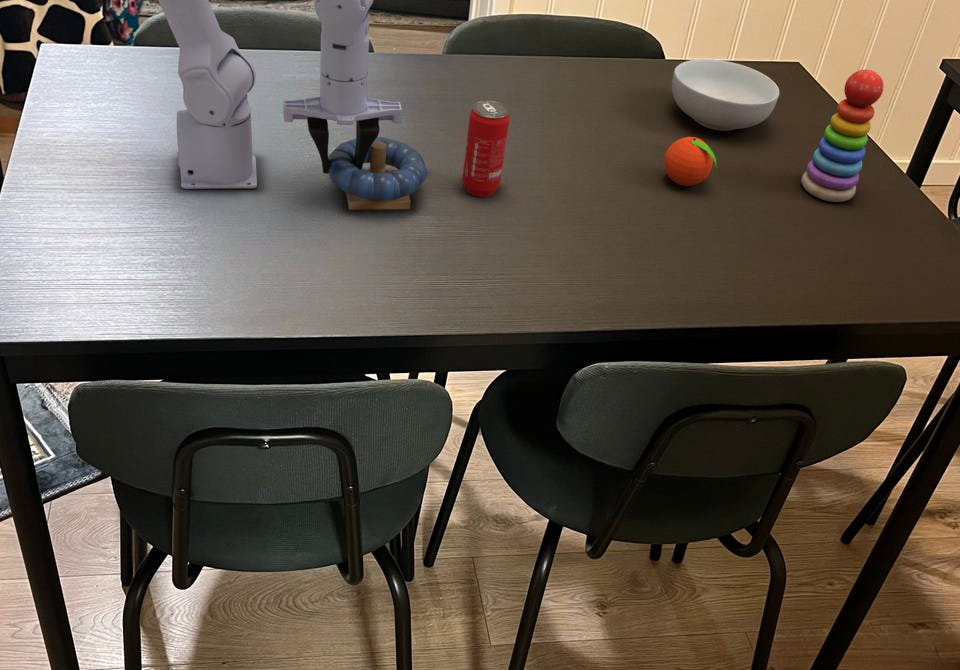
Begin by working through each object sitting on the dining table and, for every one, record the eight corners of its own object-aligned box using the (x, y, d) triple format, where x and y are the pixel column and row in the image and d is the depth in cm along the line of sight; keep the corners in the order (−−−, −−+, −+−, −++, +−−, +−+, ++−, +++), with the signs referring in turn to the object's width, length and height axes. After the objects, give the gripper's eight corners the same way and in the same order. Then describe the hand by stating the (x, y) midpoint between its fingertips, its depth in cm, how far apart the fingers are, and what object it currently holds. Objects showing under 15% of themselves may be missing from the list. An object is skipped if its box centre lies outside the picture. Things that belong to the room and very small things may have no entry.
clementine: (721, 188, 140) (734, 145, 135) (694, 203, 136) (708, 159, 131) (676, 165, 144) (688, 122, 139) (649, 179, 140) (661, 135, 135)
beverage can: (471, 201, 129) (482, 120, 122) (455, 181, 133) (464, 102, 125) (505, 195, 131) (517, 115, 124) (488, 176, 135) (499, 97, 127)
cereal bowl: (780, 120, 160) (794, 81, 156) (745, 156, 149) (759, 114, 144) (688, 86, 166) (698, 48, 162) (647, 118, 155) (658, 77, 150)
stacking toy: (856, 187, 145) (905, 71, 133) (848, 210, 139) (899, 91, 127) (805, 171, 147) (848, 55, 135) (795, 193, 141) (839, 74, 130)
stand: (348, 209, 124) (350, 160, 120) (343, 177, 130) (344, 129, 126) (410, 209, 126) (413, 161, 121) (401, 177, 132) (405, 130, 127)
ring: (332, 205, 120) (333, 182, 118) (323, 154, 130) (323, 132, 128) (432, 204, 123) (434, 181, 121) (416, 155, 133) (418, 133, 131)
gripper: (284, 85, 112) (286, 186, 120) (407, 87, 115) (400, 185, 123) (281, 59, 117) (283, 157, 125) (399, 62, 120) (393, 157, 129)
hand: (341, 169), depth 125 cm, fingers closed on ring, 3 cm apart
